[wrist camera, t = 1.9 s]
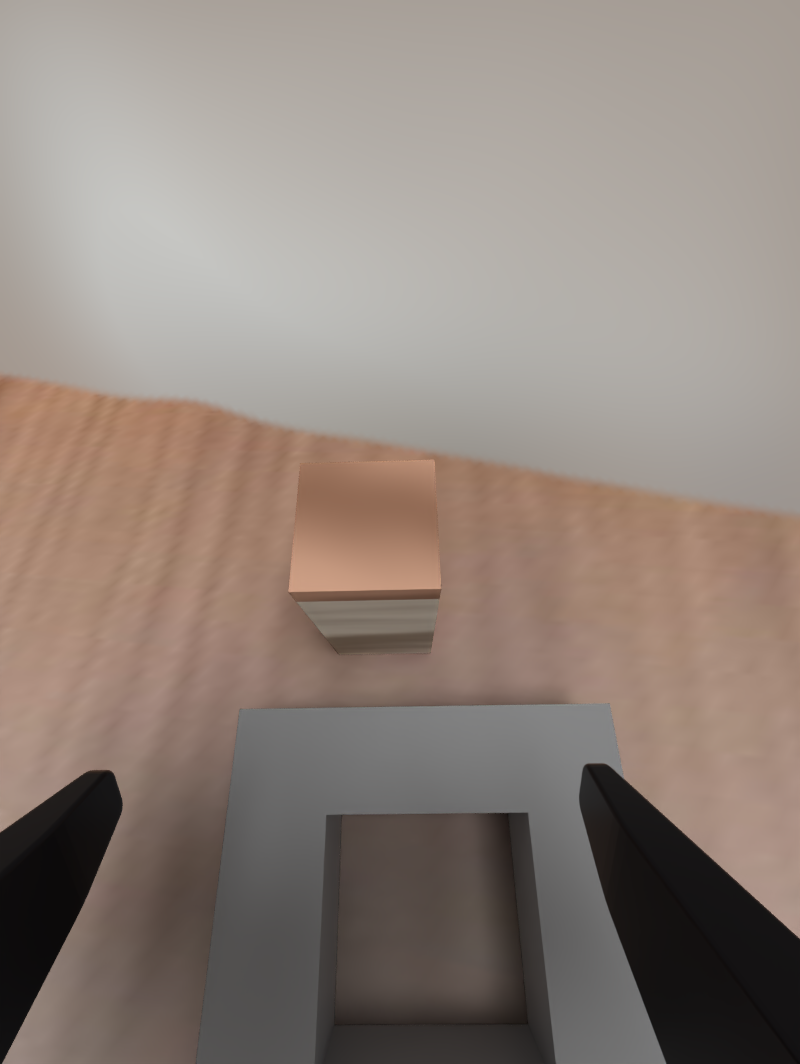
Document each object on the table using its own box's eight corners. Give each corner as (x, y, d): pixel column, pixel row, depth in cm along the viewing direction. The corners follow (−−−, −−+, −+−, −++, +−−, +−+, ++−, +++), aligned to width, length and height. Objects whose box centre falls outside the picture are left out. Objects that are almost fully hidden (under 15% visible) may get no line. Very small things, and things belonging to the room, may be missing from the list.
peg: (430, 653, 22) (441, 588, 13) (339, 654, 23) (288, 591, 13) (427, 567, 24) (434, 459, 15) (343, 569, 24) (300, 463, 15)
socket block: (649, 1168, 15) (723, 1300, 12) (224, 1168, 15) (166, 1296, 12) (575, 711, 21) (609, 703, 18) (269, 715, 21) (239, 708, 18)
